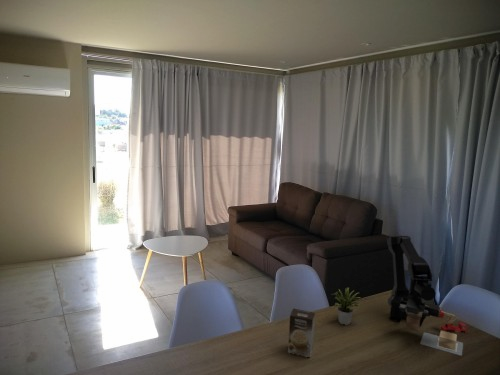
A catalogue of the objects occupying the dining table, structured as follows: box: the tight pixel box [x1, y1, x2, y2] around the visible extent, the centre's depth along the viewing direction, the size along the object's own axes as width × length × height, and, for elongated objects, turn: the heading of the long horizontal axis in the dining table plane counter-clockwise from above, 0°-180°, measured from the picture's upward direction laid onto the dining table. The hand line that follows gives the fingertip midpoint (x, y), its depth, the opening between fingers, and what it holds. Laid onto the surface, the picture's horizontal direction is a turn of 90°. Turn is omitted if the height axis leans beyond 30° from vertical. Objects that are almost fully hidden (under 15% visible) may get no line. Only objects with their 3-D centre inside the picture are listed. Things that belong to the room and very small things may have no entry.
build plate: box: [419, 332, 464, 356], centre depth 157 cm, size 15×11×1 cm
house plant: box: [331, 286, 364, 326], centre depth 173 cm, size 14×14×16 cm
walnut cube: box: [405, 312, 422, 332], centre depth 162 cm, size 5×5×5 cm
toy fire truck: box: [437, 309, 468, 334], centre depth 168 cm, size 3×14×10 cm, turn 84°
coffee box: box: [287, 308, 316, 358], centre depth 149 cm, size 9×6×16 cm
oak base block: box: [438, 330, 458, 350], centre depth 156 cm, size 6×6×4 cm
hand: (413, 324), depth 162 cm, fingers closed on walnut cube, 5 cm apart
